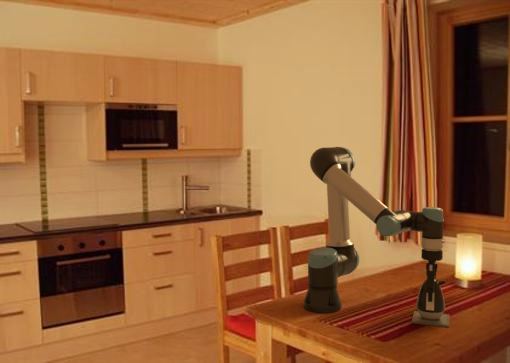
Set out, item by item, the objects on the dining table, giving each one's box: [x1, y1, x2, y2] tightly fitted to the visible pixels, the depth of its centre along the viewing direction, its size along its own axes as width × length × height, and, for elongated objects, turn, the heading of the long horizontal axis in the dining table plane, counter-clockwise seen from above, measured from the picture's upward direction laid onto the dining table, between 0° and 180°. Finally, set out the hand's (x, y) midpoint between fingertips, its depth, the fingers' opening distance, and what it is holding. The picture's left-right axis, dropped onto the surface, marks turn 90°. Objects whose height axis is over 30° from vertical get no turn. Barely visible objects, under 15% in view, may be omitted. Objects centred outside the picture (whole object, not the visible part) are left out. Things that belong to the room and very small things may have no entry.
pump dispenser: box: [416, 278, 447, 320], centre depth 204 cm, size 10×10×15 cm
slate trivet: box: [411, 310, 450, 328], centre depth 205 cm, size 13×13×1 cm
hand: (430, 304), depth 205 cm, fingers open, 13 cm apart
